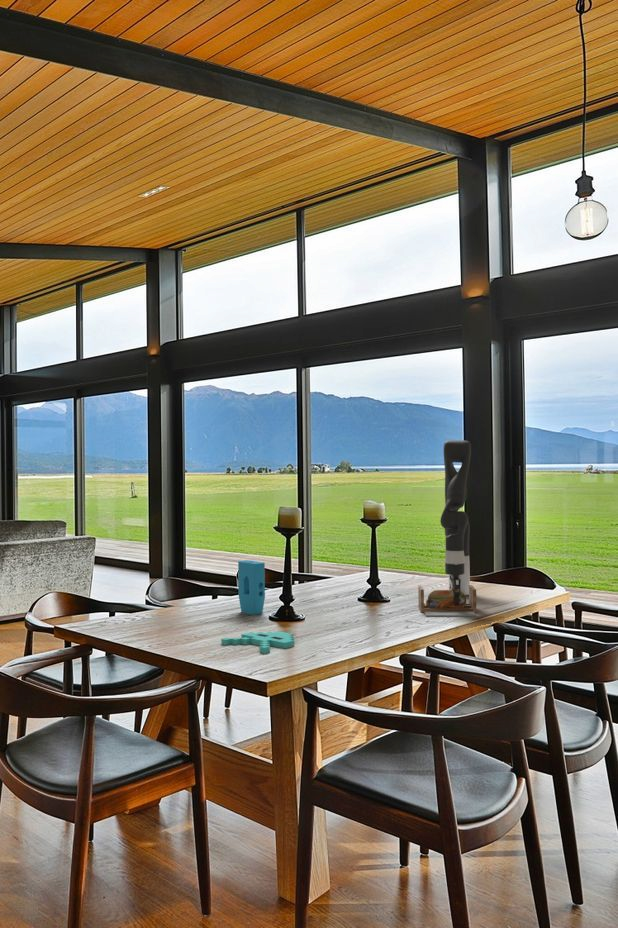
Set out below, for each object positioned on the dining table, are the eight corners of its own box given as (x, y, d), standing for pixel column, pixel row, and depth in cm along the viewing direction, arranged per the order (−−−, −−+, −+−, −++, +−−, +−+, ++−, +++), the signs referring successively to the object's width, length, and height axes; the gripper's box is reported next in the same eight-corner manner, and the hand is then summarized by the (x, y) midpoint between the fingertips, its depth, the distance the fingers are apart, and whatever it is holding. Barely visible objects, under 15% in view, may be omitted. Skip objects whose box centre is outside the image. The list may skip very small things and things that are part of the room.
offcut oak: (426, 604, 313) (426, 599, 313) (438, 604, 312) (438, 599, 312) (426, 605, 310) (426, 600, 310) (438, 605, 310) (438, 600, 310)
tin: (428, 611, 305) (427, 590, 305) (426, 610, 309) (426, 589, 309) (466, 611, 305) (466, 590, 305) (464, 610, 308) (464, 588, 308)
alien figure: (264, 655, 240) (308, 643, 255) (264, 647, 240) (308, 636, 255) (221, 645, 254) (264, 635, 269) (221, 638, 254) (264, 628, 269)
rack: (418, 607, 314) (418, 585, 314) (472, 607, 313) (471, 585, 313) (420, 612, 303) (420, 589, 303) (476, 612, 302) (476, 589, 302)
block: (237, 611, 310) (237, 561, 310) (247, 609, 313) (247, 560, 313) (255, 615, 301) (255, 563, 301) (266, 613, 304) (265, 562, 304)
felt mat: (424, 613, 302) (424, 611, 302) (473, 613, 301) (473, 611, 301) (426, 616, 295) (426, 615, 295) (476, 616, 294) (476, 615, 294)
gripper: (442, 559, 314) (443, 600, 314) (447, 564, 299) (447, 607, 299) (461, 559, 313) (462, 600, 313) (467, 564, 299) (467, 607, 299)
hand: (455, 603), depth 306 cm, fingers open, 7 cm apart
